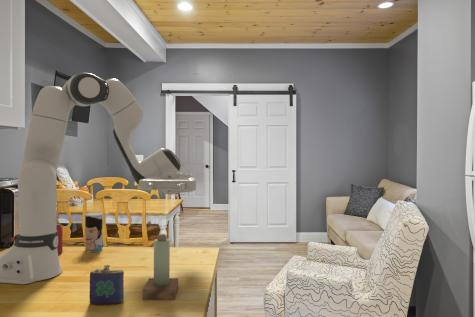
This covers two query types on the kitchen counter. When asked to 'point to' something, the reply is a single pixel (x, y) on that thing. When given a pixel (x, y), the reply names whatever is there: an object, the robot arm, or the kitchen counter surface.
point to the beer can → (59, 238)
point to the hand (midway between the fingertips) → (164, 186)
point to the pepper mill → (161, 260)
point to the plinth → (160, 290)
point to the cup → (93, 231)
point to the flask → (106, 286)
